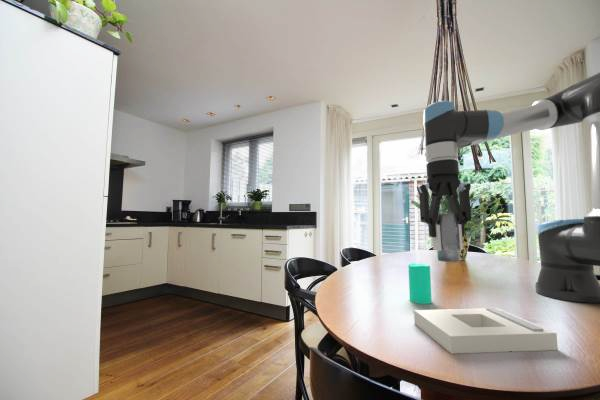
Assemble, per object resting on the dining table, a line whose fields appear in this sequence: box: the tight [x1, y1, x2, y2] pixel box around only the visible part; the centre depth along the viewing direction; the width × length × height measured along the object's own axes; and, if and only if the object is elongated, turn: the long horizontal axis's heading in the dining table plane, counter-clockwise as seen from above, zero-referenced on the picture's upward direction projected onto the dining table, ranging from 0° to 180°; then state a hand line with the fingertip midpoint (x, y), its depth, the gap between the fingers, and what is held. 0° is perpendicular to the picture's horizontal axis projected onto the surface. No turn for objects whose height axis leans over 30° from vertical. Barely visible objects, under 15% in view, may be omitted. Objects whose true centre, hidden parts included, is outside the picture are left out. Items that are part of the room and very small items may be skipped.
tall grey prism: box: [436, 213, 461, 263], centre depth 70 cm, size 5×5×12 cm
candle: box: [408, 262, 433, 304], centre depth 80 cm, size 6×6×12 cm
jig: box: [413, 307, 559, 354], centre depth 56 cm, size 20×14×3 cm
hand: (447, 249), depth 70 cm, fingers closed on tall grey prism, 5 cm apart
